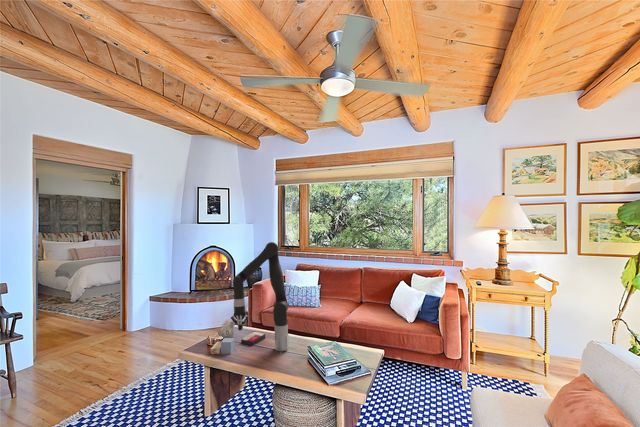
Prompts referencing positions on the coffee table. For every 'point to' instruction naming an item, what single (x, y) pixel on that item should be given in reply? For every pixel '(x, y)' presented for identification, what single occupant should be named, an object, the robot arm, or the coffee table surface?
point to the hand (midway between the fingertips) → (240, 329)
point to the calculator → (253, 338)
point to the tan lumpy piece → (216, 348)
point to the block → (227, 345)
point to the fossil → (227, 329)
